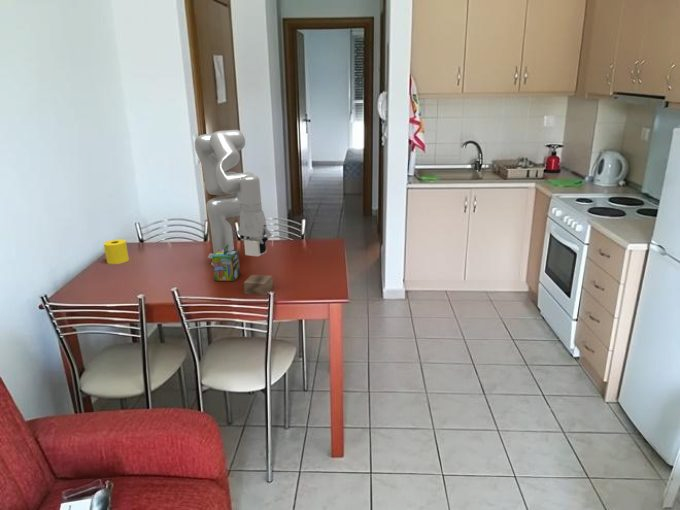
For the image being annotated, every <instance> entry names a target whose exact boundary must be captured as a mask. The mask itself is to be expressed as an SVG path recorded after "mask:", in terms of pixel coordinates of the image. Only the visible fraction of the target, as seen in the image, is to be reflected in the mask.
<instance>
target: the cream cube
mask: <svg viewBox="0 0 680 510" xmlns="http://www.w3.org/2000/svg"><path fill="white" fill-rule="evenodd" d="M243 243H244V253H245V254H244V255H245V256H251V257H260V256H261V255H263V254H265V253H267V250H266V251H265V252H264V253H262V254H261V253H260V244H261V243H260V240H259V238H256V237H250V238H248V239H246V240H244V242H243ZM265 243H266V242H265ZM266 244H267V243H266Z"/></svg>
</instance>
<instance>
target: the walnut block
mask: <svg viewBox="0 0 680 510" xmlns="http://www.w3.org/2000/svg"><path fill="white" fill-rule="evenodd" d="M273 288H274V280H273V275H259V274H251V275H250V276H249V277H247V279H246V280H245V281H244V282H243V290H244V294H245V295H260V296H262V295H263V296H266V295H267V294H268V293H269V292H270V291H271V290H272V289H273ZM268 291H269V292H268ZM267 292H268V293H267ZM266 293H267V294H266Z"/></svg>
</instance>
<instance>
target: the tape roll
mask: <svg viewBox="0 0 680 510" xmlns="http://www.w3.org/2000/svg"><path fill="white" fill-rule="evenodd" d="M103 247H104V253H105V254H104V255H105V259H106V263H107V264H108V265H119V264H123V263H125V262H128V261H129V260H130V258H129V252H128V246H127V240H126V239H120V238H119V239H118V238H117V239H112V240H107V241H105V242H104V243H103Z"/></svg>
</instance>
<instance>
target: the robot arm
mask: <svg viewBox="0 0 680 510" xmlns="http://www.w3.org/2000/svg"><path fill="white" fill-rule="evenodd" d="M245 146H246V138H245V136H244V133H242V131H241V130H239V129H228V130H218V131H215V132H213V133H205V134H200V135H198V136H196V138H195V140H194V148H195V151H196V155H197V157H198V159H199V161H200V163H201V167H202V172H203V178H204V184H205V188H206V191H207V193H208V194H209V195H213V196H214V195H215V196H216V195H217V196H218V195H223V194H228V195H226V196H219V197H214V198H210V199H209V200H208V201H207V202H206V205H205V209H206V213H207V217H208V220H209V226H210V234H211V235H210V236H211V242H212V252H213V253H212V252H211V253H209V254H208V256H207V259H211V260H212V261H211V263H210V264H211V266H212V267H213V259H212V256H213V255H214V254H215V253H216V252H217V251H218V250H224V249H225V247H226V246H227V245H228V250H235V245H234V238H233V237H234V236H233V227H232V225H231V224H230V222H229V221H228V220H226V219H229V218H233V217H238V216H239V229H238V230H237V231H236V234H238V235H239V237H240V238H241V239H242V241H243V243H244V240H246V239H248V238H250V237H256V238H259V240H260V243H261V244H260V253H261V254H262V253H264V252H265V251H266V252H267V245H266V244H267V243H265V242H267V241H268V240H269V239H270V238H271V237H272V235H273V234H272V232H271V231H270V230H269V229H268V226H267V221H266V216H265V212H264V210H263V208H262V198H261V196H262V195H261V183H260V178H259V176H258V175H255V174H254V173H253V172H249V171H248V172H246V171H245V172H238V173H237V172H235V171H228V170H230V169H232V168H234V167H235V166H237V164H238V163H239V162H240V159H241V157H240V153H239V151H241V150H243V149H244V148H245ZM265 235H266V236H265ZM226 249H227V248H226ZM266 252H265V253H266ZM265 253H264V254H265ZM262 255H263V254H262Z"/></svg>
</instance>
